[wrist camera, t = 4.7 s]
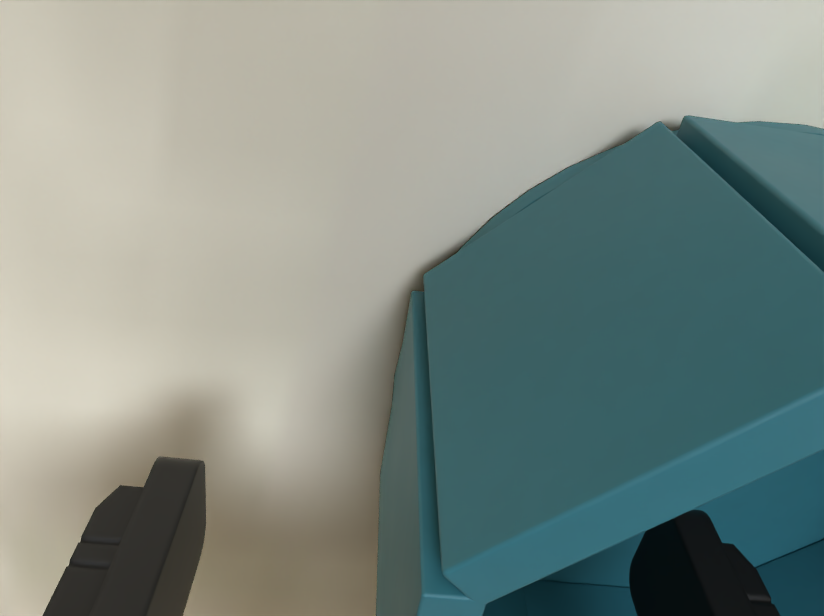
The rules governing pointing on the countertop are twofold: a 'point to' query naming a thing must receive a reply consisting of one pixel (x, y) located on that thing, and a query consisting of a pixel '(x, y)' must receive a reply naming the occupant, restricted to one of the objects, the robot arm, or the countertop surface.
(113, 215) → the countertop surface
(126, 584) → the robot arm
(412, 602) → the teal octagonal bowl
